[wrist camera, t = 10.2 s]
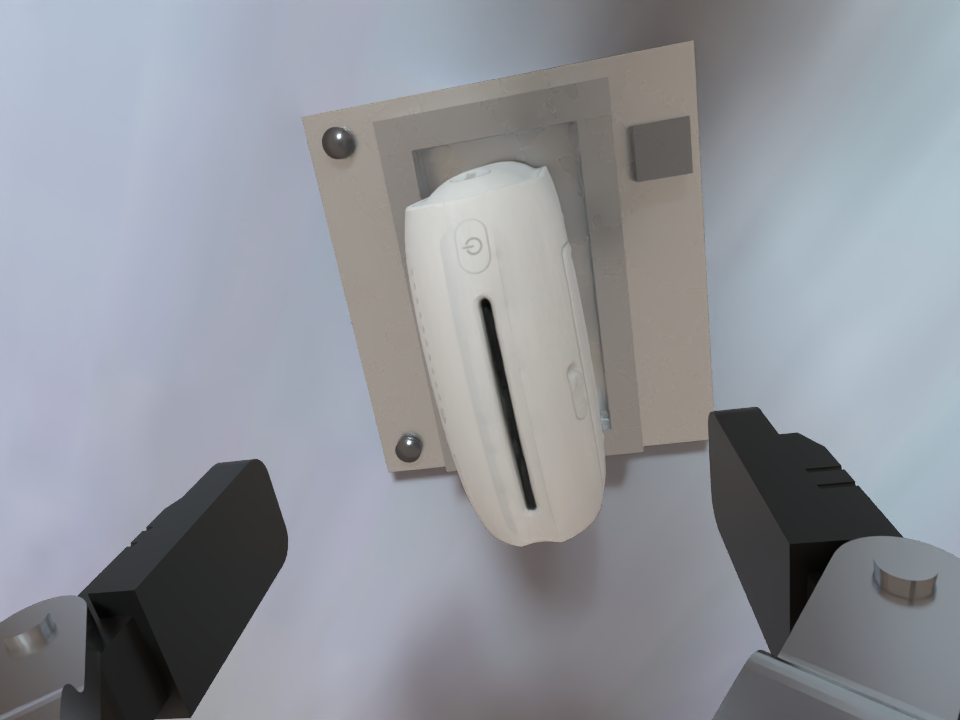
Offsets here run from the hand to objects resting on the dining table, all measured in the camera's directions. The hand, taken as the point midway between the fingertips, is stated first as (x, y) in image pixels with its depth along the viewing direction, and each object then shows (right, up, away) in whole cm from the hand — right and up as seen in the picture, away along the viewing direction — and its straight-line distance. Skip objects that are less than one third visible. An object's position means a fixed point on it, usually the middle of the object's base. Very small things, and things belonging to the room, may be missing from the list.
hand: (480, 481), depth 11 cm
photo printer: (+2, +5, +15) cm, 16 cm away
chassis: (+2, +6, +16) cm, 17 cm away
